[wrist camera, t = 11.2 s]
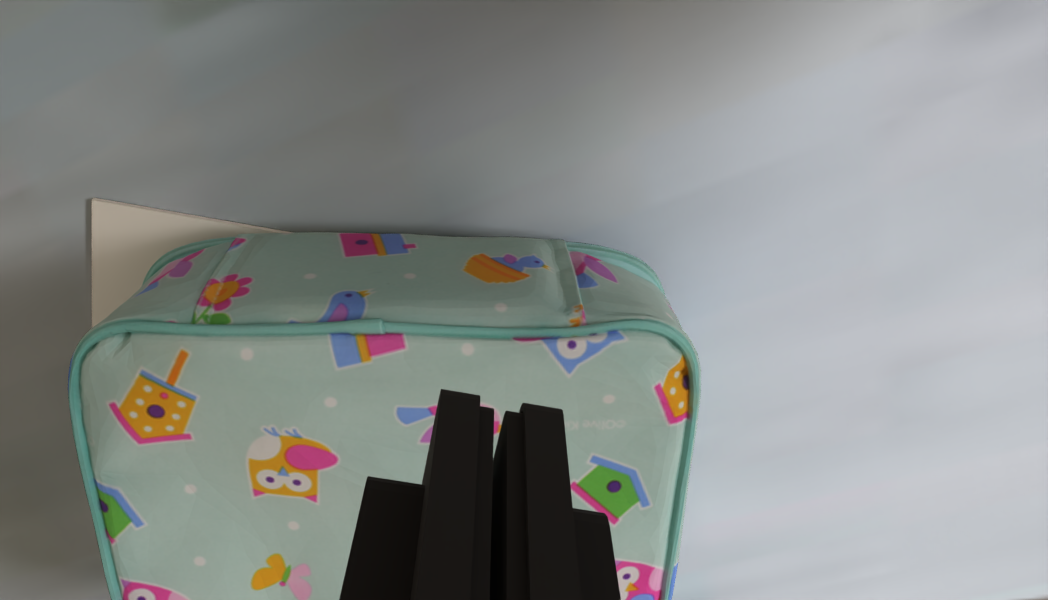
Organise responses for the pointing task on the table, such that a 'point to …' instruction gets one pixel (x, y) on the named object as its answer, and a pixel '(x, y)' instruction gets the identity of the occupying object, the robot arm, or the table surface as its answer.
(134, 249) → the mat
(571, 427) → the lunch box
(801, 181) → the table surface
